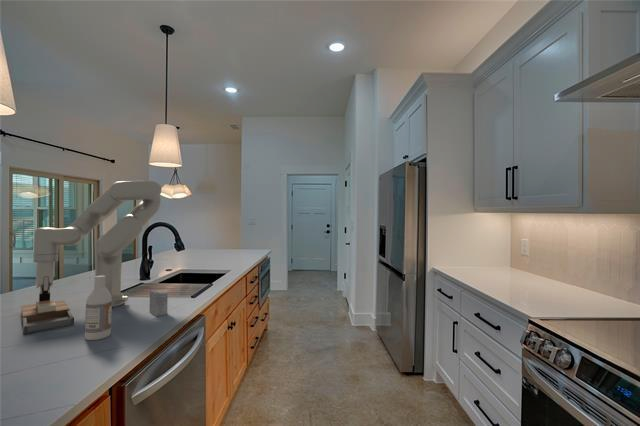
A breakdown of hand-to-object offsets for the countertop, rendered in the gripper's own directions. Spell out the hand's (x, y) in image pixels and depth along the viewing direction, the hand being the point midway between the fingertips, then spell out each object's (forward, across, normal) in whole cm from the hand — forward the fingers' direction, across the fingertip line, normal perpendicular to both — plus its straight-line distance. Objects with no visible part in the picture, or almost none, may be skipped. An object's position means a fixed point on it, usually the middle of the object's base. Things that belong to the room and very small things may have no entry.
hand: (44, 303), depth 122 cm
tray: (+4, +19, 0) cm, 19 cm away
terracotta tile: (+1, +4, 0) cm, 4 cm away
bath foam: (+4, +43, +12) cm, 44 cm away
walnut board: (+4, +5, 0) cm, 6 cm away
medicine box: (+4, +30, +34) cm, 45 cm away
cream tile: (+1, +9, 0) cm, 9 cm away
